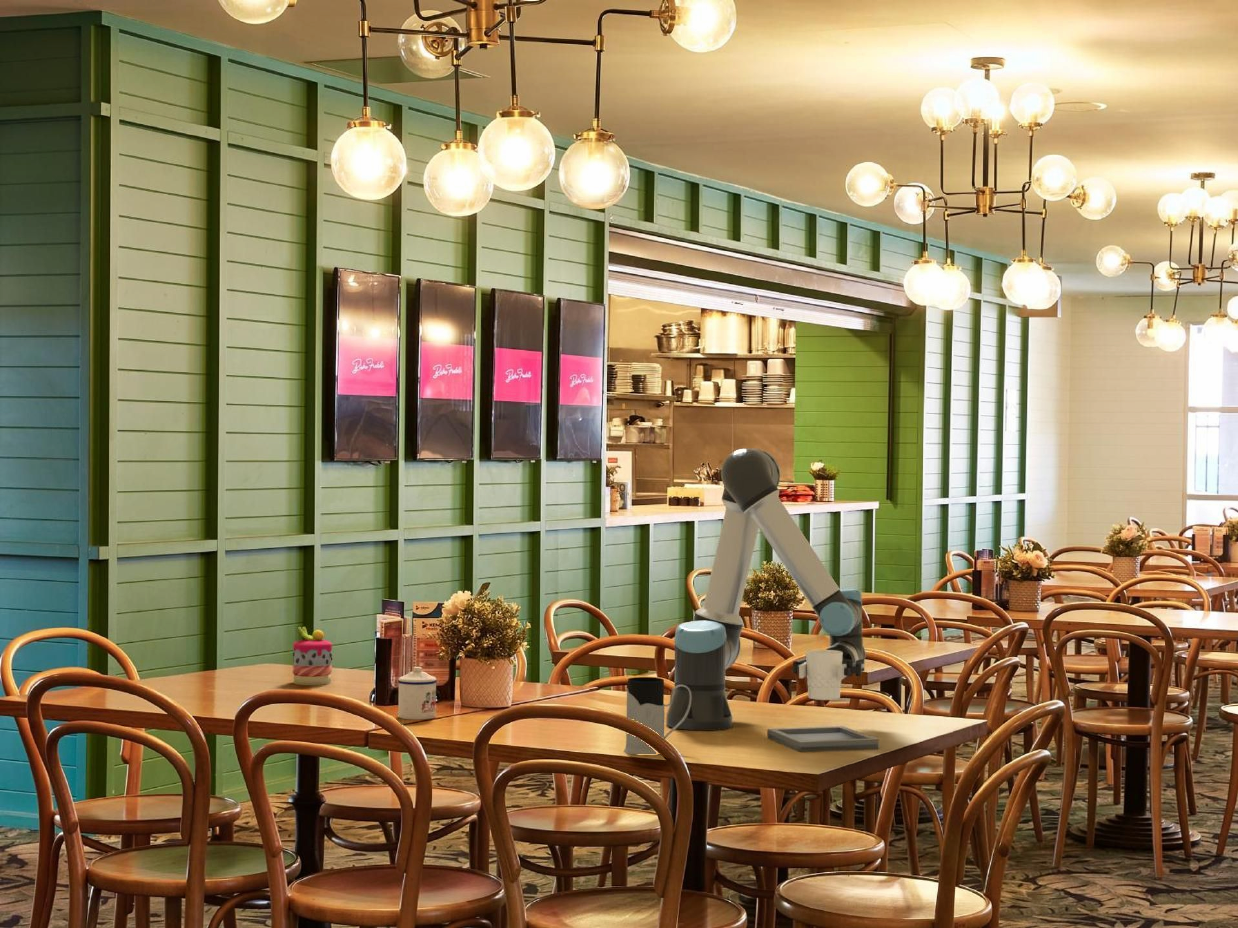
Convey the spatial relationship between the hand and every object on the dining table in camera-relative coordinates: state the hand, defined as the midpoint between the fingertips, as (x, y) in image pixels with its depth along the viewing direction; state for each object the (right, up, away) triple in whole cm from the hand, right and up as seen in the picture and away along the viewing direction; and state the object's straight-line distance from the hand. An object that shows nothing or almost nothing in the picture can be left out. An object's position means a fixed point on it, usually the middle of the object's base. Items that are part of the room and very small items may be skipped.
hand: (820, 672), depth 338 cm
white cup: (+1, -6, +4) cm, 8 cm away
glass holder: (-35, -15, -8) cm, 39 cm away
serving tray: (+1, -16, +5) cm, 17 cm away
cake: (-126, -15, +90) cm, 155 cm away
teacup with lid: (-90, -15, +34) cm, 97 cm away
